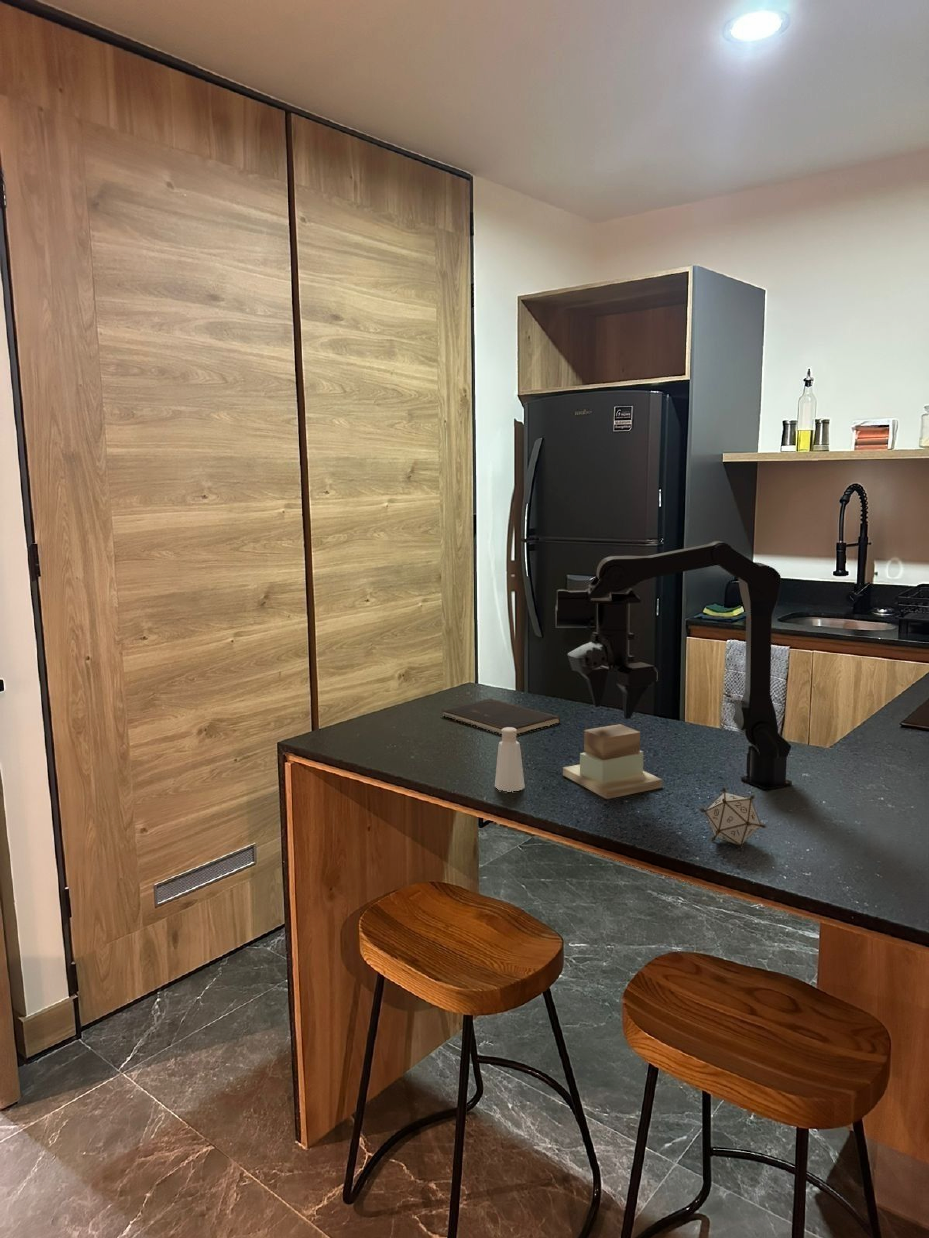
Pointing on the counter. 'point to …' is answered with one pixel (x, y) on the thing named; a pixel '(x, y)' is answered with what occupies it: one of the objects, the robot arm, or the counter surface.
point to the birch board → (614, 783)
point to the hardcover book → (501, 715)
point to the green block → (610, 767)
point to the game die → (732, 818)
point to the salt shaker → (509, 762)
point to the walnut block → (612, 742)
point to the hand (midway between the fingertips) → (612, 712)
